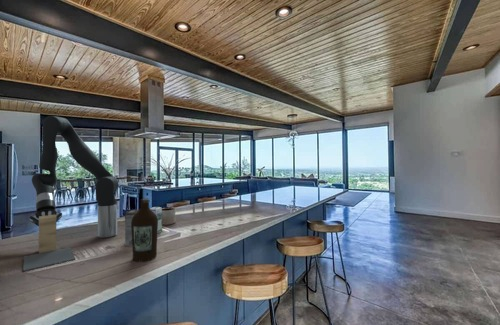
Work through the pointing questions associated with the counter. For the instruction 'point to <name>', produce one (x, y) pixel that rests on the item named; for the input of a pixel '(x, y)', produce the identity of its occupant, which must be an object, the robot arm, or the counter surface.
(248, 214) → the counter surface
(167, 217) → the planter
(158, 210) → the syrup box
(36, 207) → the robot arm
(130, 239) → the coffee box
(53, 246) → the oak block
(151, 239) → the olive oil
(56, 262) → the rubber mat
